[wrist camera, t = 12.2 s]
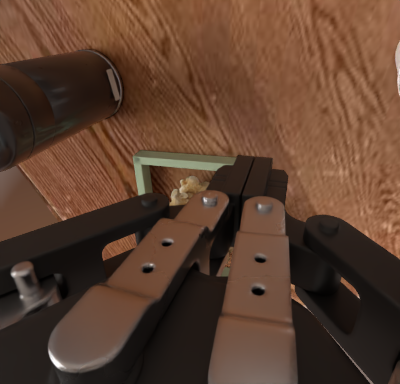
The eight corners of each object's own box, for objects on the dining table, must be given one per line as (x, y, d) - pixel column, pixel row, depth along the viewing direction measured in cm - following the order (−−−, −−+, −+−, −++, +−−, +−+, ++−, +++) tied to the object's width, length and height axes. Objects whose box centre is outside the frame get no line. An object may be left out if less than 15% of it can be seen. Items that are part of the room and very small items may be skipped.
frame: (155, 260, 58) (149, 269, 56) (140, 149, 48) (132, 156, 46) (243, 275, 54) (241, 286, 52) (247, 158, 44) (244, 165, 41)
